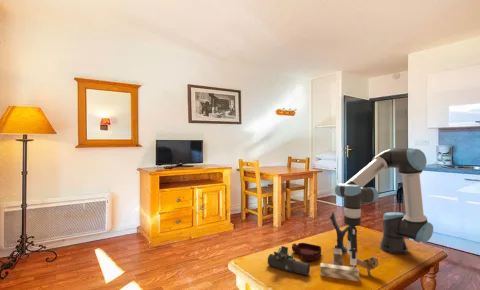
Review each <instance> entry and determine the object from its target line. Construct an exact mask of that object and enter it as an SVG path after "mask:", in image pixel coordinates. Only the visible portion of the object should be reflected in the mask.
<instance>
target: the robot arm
mask: <svg viewBox="0 0 480 290" xmlns="http://www.w3.org/2000/svg"><path fill="white" fill-rule="evenodd" d="M427 163H428V162H427V157H426V155H425V153H424V152H423V151H422V150H421V149H418V148H413V147H412V148H409V147H408V148H407V147H405V148H401V147H400V148H396V147H393V148H388V149H385V150H384V151H381V152H379V153H378V154H377V155H375V156H373V157H372V159H371V162H369V163H368V164H367V165H365V166H364V167H363V168H362V169H360V170H359V171H358V172H357V173H356V174H354V175H353V176H352V177H350V178H349V179H348V180H347V181H346V182H345V183H342V182H341V183H338V184H336V185H335V188H334V192H335V194H336V196H338V197H340V198H343V199H344V204H343V205H344V208H343V209H342V210H343V211H344V212H343V213H344V217H343V223H344V224H345V225H346V226H347V227H348V231H347V236H346V238H347V246H346V248H347V252H346V253H347V254H348V255H349V266H350V265H356V264H357V258H358V257H357V256H358V255H357V253H358V236H357V233H358V229H357V227H359V226H361V223H362V222H361V221H362V220H361V219H362V218H361V216H362V215H361V214H362V207H361V206H362V204H368V203H370V204H372V203H374V202H377V200H378V199H379V196H380V195H379V192H378V190H377V189H376V188H375V187H369V186H367V187H365V185H367V184H368V183H369V182H371V180H373V179H374V178H375V177H377V175H379V174H381V172H383V171H386V170H388V169H391V168H393V169H394V168H395V169H397V171H398V173H399V174H400V175H401V178H402V181H401V182H402V189H403V196H404V197H403V198H404V208H405V213H403V212H398V211H397V212H396V211H393V212H391V211H390V212H385V213H383V217H382V218H383V219H382V230H383V231H382V237H381V240H380V243H379V248H380V249H381V250H382V251H384V252H385V253H389V254H392V255H394V254H395V255H405V254H408V246H407V242H406V239H407V238H408V239H410V240H414V241H416V242H421V243H427V242H428V241H429V240H431V238H432V236H433V234H434V225H433V224H432V222H429V221H428V216H426V215H424V205H423V195H422V187H421V186H422V185H421V174H422V173H423V170H425V168H427ZM405 238H406V239H405ZM357 265H358V264H357Z"/></svg>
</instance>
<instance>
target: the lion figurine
mask: <svg viewBox="0 0 480 290" xmlns="http://www.w3.org/2000/svg"><path fill="white" fill-rule="evenodd" d="M378 265H379V259H378V258H377V257H376V256H371V257H370V258H366V259H365V260H363V259H360V258H359V257H357V264H356V265H350V264H349V266H348V267H355V268H358V267H357V266H359V267H361V268H363V269H366V271H367V276H369V277H370V276H371V275H372V274H371V272H370V271H371V270H375V268H377V267H378Z"/></svg>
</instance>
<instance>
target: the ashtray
mask: <svg viewBox="0 0 480 290" xmlns="http://www.w3.org/2000/svg"><path fill="white" fill-rule="evenodd" d="M291 251H292V252H293V253H294V254H296V255H299V256H300V258H301V259H302V260H304V262H310V261H311V262H312V261H315V260H317V259H318V258H319V257H320V256H321V255H322V247H321V245H317V244H316V245H315V244H311V243H307V242H299V243H298V244H296V243H293V244H292V245H291Z"/></svg>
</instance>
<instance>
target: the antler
mask: <svg viewBox="0 0 480 290" xmlns="http://www.w3.org/2000/svg"><path fill="white" fill-rule="evenodd" d="M329 219H330V221H331V222H332V225H333V227H334V229H335V232H336V245H334V248H337V249H341V250H342V254H344V253H347V246H344V236H345V235H346V233H348V226H346V228H345V229H343V230H341V228H340V226H339V224H338V222H337V219H336V215H335V212H334V211H332V212H331V215H330V216H329Z"/></svg>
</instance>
